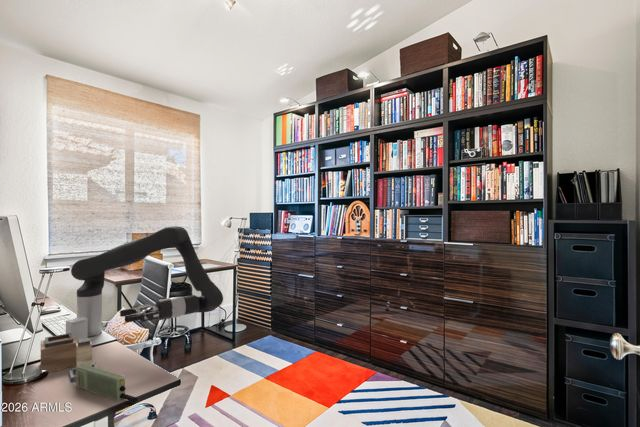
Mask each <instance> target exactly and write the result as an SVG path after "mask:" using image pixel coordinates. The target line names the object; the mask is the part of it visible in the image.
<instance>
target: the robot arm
mask: <svg viewBox="0 0 640 427" xmlns="http://www.w3.org/2000/svg"><path fill="white" fill-rule="evenodd" d="M166 249H176V250H177V251H178V253H179V254H180V256H181V257H182V259H183V263H184V267H185V268H184V269H185V272H186V275H187V278H188V279H189V280H188V281H190V283H191V285H192V286H193V288H194V290H195V291H196V292H200V293H201V294H202V295H201V296H200V295H199V296H197V295H194V294H191V295H186V296H175V297H174V296H173V297H168V298H162V299H161V298H160V299H157V300H156V301H155V305H151V304H150V303H147V304H139V305H134V306H132V307H131V308H128V309H127V308H125V309H121V310H120V311H119V316H120V317H121V318H122V317H124V322H125V323H130V322H136V321H137V322H141V323H144V322H149V321H153V320H158V321H164V320H168V319H174V318H178V317H181V316H185V315H191V314H195V313H196V314H197V313H199V314H200V313H209V312H213V311H215V310H216V309H217V308H218V307H220V306H221V305H222V304H223V301H224V296H223V292H222V290H220V288H219V287H218V286H217V285H216V283H215V282H213V281H212V280H211V279H210V276H209V275H208V273H207V272H206V270H205V268H204V267H203V264H202V263H201V261H200V259H199V257H198V255H197V252H196V250H195V247H194V246H193V243H192V240H191V237H190V235H189V233H188V231H187V229H185V228H184V227H182V226H178V225H177V226H176V225H170V226H166V227H163V228H161V229H159V230H158V231H156V232H154V233H151V234H149V235H148V236H144V237H141V238H137V239H135V240H131V241H128V242H126V243H123V244H121V245H118V246H115V247H114V248H111V249H109V250H107V251H105V252H102V253H100V254H98V255H95V256H94V255H93V256H92V257H86V258H82V259H78V260H77V261H76V262H74V264H72V267H71V270H70V273H71V276H72V277H73V278H74V279H75V280H78V281H84V282H83V283H82V285H81V286H80V287H79V288H78V289H76V318H80V317H84V318H87V319H88V335H87V338H91V337H93V336H98V335H100V334H102V331H103V289H104V286H105V276H106V272H107V271H109V270H110V271H111V270H115V269H119V268H123V267H126V266H127V267H128V266H130V265H133V264H136V263H138V262H140V261H141V262H142V260H144V259H146V258H147V257H149V256H150V255H151V254H153V253H155V252H159V251H162V250H166Z"/></svg>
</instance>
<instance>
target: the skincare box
mask: <svg viewBox="0 0 640 427" xmlns="http://www.w3.org/2000/svg"><path fill="white" fill-rule="evenodd" d="M68 333H72V335H75V336H76V339H77V342H78V340H81V339H86V338H88V337H87V335H88V319H87V318H84V317H80V318H77V317H75V318H71V319H68V320H65V334H68Z"/></svg>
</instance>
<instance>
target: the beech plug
mask: <svg viewBox="0 0 640 427" xmlns="http://www.w3.org/2000/svg"><path fill="white" fill-rule="evenodd" d="M90 338H91V337H87V338H86V339H81V340H78V343H77V344H76V366H75V368H76V367H77V366H78V365H80V364H85V365H88V366H92V364H93V343H92V341H91V339H90Z"/></svg>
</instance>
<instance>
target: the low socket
mask: <svg viewBox="0 0 640 427" xmlns="http://www.w3.org/2000/svg"><path fill="white" fill-rule="evenodd" d="M92 367H95V368H98V369H99V367H98V365H97V363H96V362H95V363H92ZM74 373H75V374H76V367H73V368H69V369H68V374H69V378H70V382H71V383H72V382H76V375H74Z"/></svg>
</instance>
